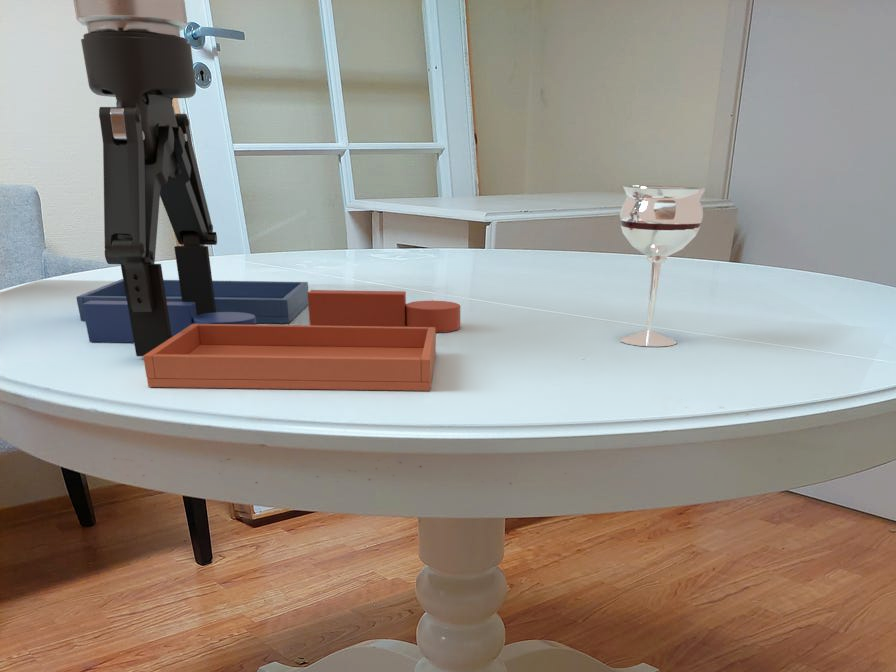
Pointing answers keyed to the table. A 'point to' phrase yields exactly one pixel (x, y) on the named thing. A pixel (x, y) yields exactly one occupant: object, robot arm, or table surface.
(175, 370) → the terracotta tray
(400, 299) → the bar with round end
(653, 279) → the wineglass
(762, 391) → the table surface
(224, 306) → the blue tray
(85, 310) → the blue block
